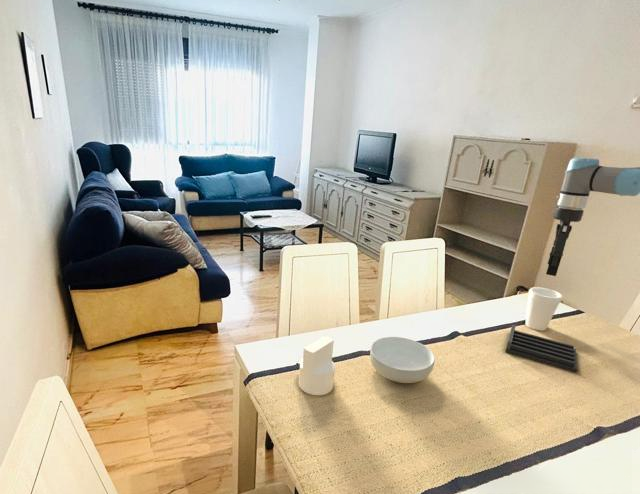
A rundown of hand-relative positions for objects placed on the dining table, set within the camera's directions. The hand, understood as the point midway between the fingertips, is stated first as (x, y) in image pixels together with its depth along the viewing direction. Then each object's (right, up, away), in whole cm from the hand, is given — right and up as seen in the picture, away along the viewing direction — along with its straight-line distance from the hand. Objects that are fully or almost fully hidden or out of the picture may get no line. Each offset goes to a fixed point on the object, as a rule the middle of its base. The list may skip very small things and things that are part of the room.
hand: (551, 269), depth 131 cm
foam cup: (-2, -20, +5) cm, 21 cm away
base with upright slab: (-83, -30, -31) cm, 94 cm away
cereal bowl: (-60, -29, -25) cm, 71 cm away
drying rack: (-12, -26, -11) cm, 30 cm away
